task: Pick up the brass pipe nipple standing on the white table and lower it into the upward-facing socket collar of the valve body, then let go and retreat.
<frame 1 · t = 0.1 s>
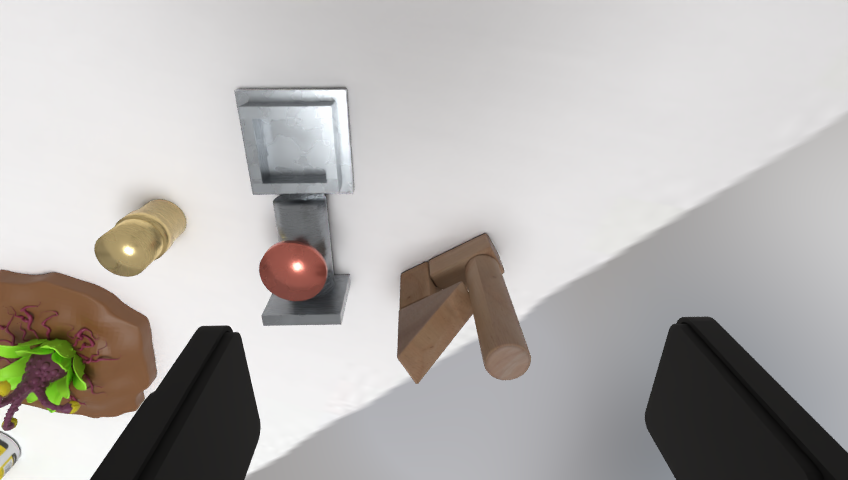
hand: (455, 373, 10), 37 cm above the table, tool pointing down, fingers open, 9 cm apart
wooden block: (449, 264, 51), on the table
plant: (74, 340, 55), on the table
valve body: (299, 142, 45), on the table
nipple: (164, 219, 48), on the table
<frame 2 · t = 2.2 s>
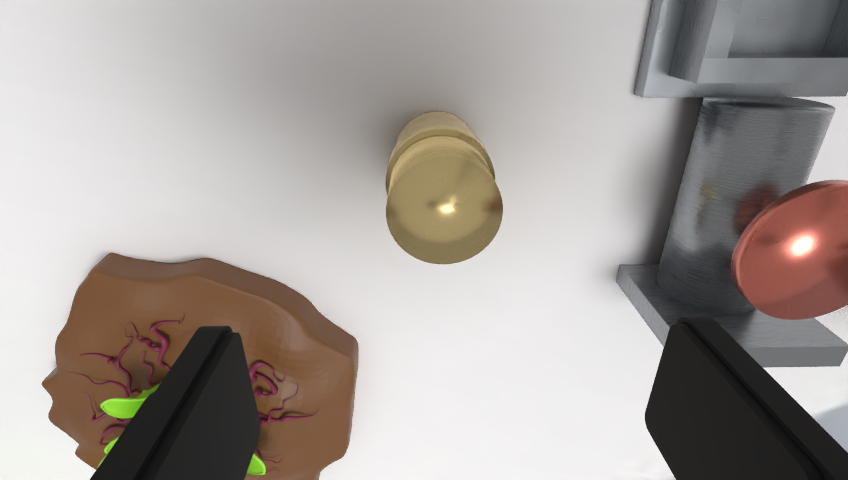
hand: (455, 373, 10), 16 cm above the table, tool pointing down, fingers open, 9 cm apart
plant: (219, 376, 32), on the table
nipple: (436, 153, 24), on the table
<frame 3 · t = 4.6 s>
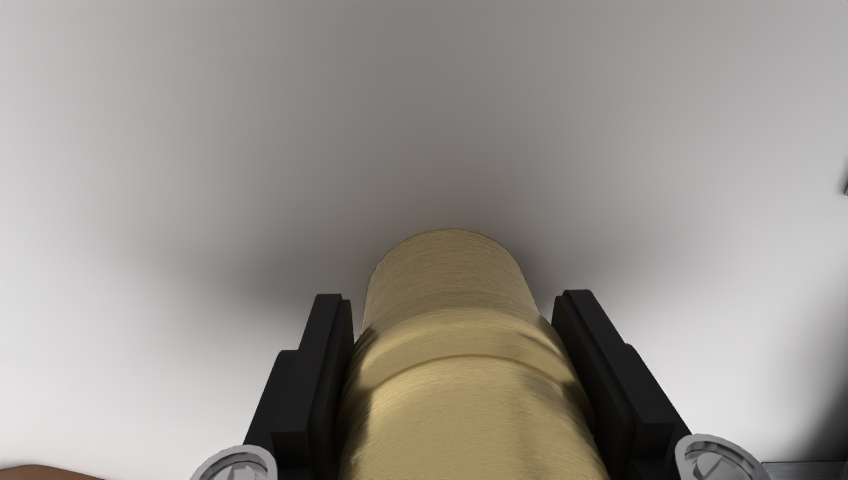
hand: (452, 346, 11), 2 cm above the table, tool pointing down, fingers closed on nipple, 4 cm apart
nipple: (446, 301, 13), on the table, touching gripper
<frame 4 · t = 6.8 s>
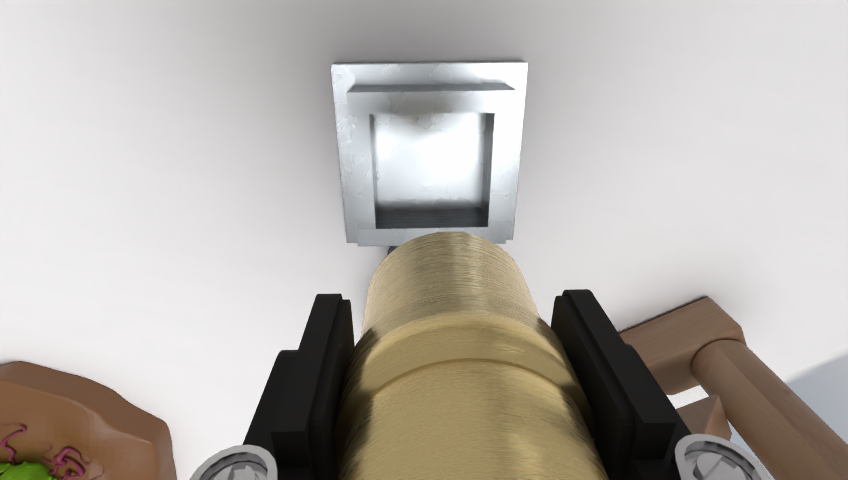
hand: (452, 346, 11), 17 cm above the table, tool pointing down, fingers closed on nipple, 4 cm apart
wooden block: (637, 341, 33), on the table
plant: (55, 452, 37), on the table
valve body: (429, 155, 26), on the table
nipple: (446, 303, 13), point 15 cm above the table, touching gripper
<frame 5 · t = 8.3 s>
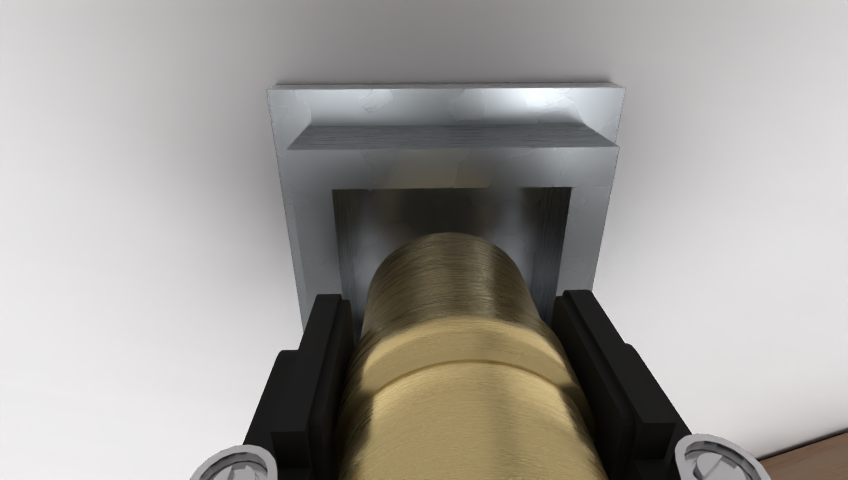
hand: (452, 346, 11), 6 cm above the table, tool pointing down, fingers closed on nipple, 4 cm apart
valve body: (442, 234, 16), on the table
nipple: (446, 304, 13), point 4 cm above the table, touching gripper
when the fingers open (5 cm above the table, at t = 9.2 s): nipple drops 2 cm, resting on valve body.
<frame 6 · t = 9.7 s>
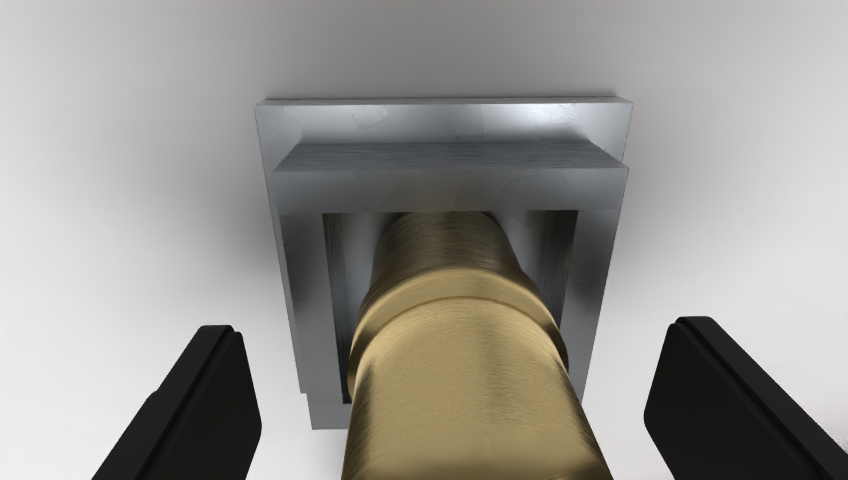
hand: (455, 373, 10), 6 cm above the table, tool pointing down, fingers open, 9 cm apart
valve body: (440, 254, 15), on the table
nipple: (443, 269, 14), point 1 cm above the table, touching valve body
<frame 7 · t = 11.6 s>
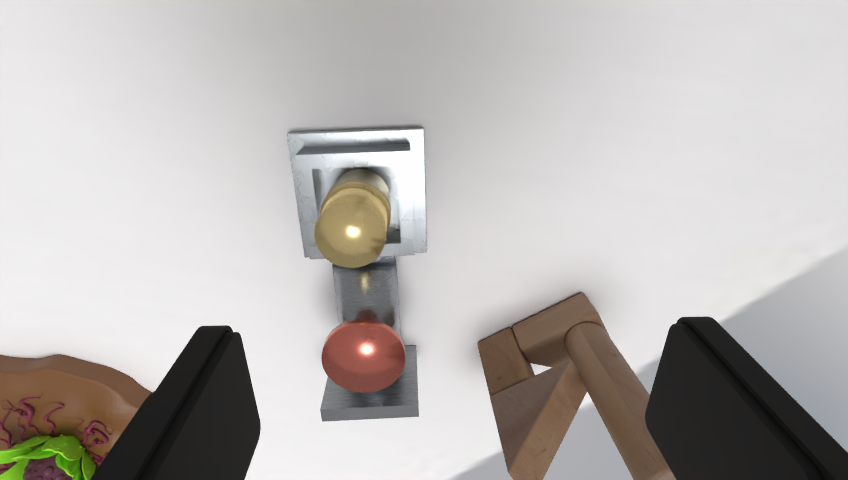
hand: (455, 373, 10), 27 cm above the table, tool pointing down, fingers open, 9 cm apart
wooden block: (535, 329, 43), on the table
plant: (82, 431, 46), on the table
valve body: (362, 192, 36), on the table
nipple: (361, 196, 36), point 1 cm above the table, touching valve body
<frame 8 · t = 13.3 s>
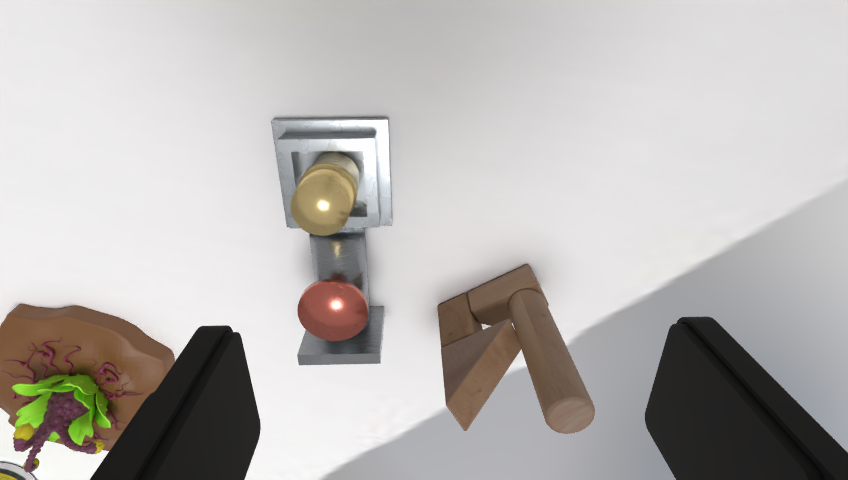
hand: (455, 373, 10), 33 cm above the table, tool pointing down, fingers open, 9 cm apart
wooden block: (487, 295, 49), on the table
supplement bottle: (11, 477, 60), on the table
plant: (95, 373, 53), on the table
valve body: (336, 172, 42), on the table
nipple: (335, 176, 42), point 1 cm above the table, touching valve body
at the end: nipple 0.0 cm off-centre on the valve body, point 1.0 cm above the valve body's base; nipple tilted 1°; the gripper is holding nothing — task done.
